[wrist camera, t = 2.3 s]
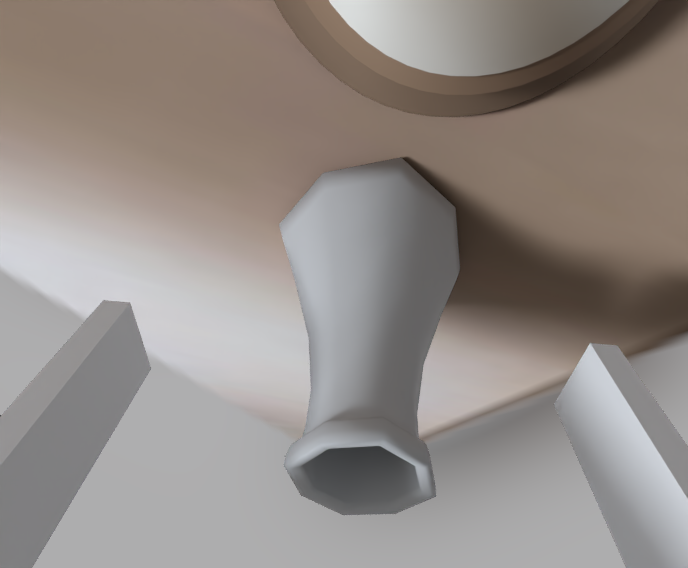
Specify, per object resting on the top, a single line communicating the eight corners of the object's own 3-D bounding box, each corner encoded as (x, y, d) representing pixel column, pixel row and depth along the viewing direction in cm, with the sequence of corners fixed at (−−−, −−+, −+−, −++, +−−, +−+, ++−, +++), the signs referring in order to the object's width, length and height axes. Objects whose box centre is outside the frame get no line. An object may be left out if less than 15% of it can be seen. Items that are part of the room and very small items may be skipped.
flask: (487, 272, 17) (581, 527, 9) (342, 330, 20) (315, 566, 12) (412, 118, 14) (456, 307, 6) (249, 213, 16) (118, 434, 8)
